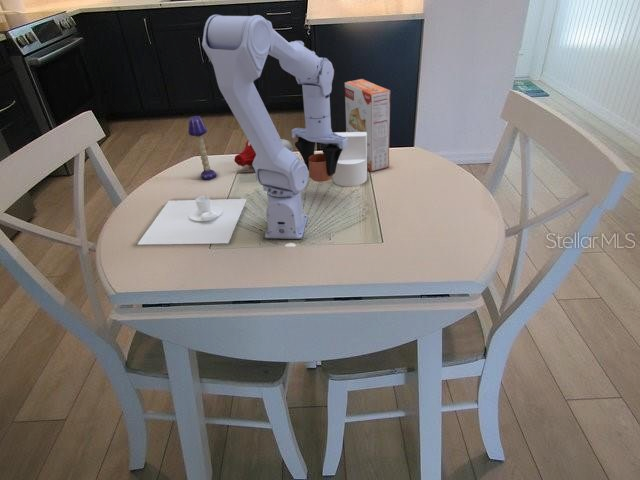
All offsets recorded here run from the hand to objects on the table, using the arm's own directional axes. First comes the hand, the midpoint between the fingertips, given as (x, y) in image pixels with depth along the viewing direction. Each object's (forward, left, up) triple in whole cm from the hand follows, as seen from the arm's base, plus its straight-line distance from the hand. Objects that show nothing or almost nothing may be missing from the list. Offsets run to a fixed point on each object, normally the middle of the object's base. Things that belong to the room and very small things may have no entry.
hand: (321, 171), depth 108 cm
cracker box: (+21, -10, -7) cm, 24 cm away
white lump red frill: (+18, +19, -7) cm, 27 cm away
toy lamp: (+11, +33, -7) cm, 35 cm away
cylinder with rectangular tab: (+10, -6, -7) cm, 13 cm away
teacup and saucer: (-12, +28, -7) cm, 31 cm away
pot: (0, 0, -2) cm, 2 cm away
